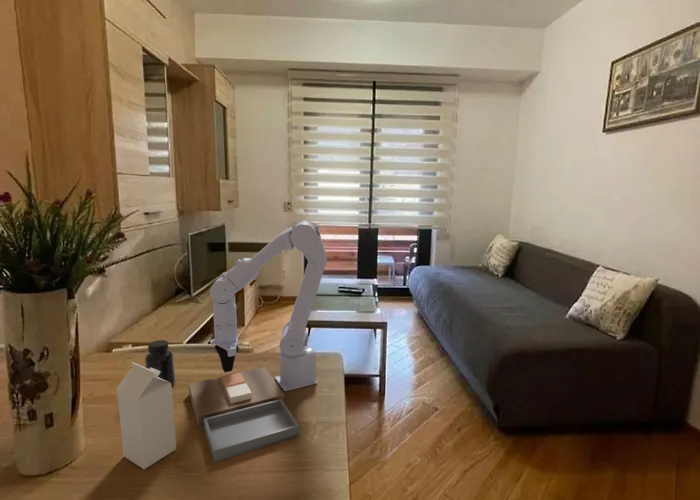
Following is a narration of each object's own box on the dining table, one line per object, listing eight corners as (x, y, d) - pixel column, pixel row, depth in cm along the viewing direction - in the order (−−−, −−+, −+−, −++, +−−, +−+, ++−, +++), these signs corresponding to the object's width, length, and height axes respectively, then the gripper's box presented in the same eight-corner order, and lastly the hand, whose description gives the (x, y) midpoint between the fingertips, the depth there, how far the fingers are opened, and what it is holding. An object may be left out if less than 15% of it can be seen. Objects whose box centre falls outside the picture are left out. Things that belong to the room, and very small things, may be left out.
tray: (281, 408, 101) (281, 398, 100) (299, 436, 90) (299, 425, 90) (204, 428, 92) (203, 418, 92) (214, 462, 82) (213, 451, 81)
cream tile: (246, 388, 104) (246, 383, 103) (251, 398, 99) (251, 392, 99) (226, 393, 101) (225, 387, 101) (230, 403, 97) (230, 397, 97)
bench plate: (265, 377, 115) (265, 367, 115) (284, 405, 102) (284, 394, 101) (189, 394, 106) (188, 383, 106) (199, 428, 92) (198, 416, 92)
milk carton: (144, 470, 79) (135, 379, 76) (123, 456, 83) (114, 369, 80) (176, 449, 85) (170, 364, 82) (155, 437, 89) (148, 355, 85)
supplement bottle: (180, 383, 111) (177, 341, 109) (157, 395, 106) (153, 351, 103) (165, 376, 115) (162, 336, 113) (141, 387, 109) (137, 344, 107)
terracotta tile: (240, 377, 109) (240, 372, 109) (245, 386, 104) (245, 381, 104) (221, 382, 107) (220, 376, 106) (225, 391, 102) (225, 385, 102)
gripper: (204, 316, 113) (207, 362, 115) (214, 335, 100) (217, 386, 103) (231, 312, 116) (233, 357, 119) (243, 330, 103) (245, 380, 106)
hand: (227, 370), depth 111 cm, fingers closed
